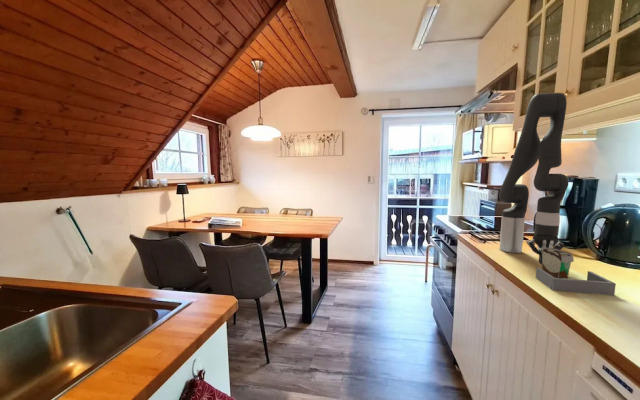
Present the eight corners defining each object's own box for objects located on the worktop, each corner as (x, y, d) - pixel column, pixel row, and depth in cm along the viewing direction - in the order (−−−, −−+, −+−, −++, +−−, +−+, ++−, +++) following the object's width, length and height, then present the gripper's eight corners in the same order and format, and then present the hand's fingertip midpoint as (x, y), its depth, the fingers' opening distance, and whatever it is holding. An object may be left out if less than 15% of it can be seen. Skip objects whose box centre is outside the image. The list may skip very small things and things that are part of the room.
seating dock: (535, 278, 100) (536, 267, 100) (590, 282, 96) (591, 271, 96) (552, 290, 90) (553, 278, 90) (614, 295, 86) (615, 283, 86)
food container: (580, 285, 94) (583, 257, 93) (560, 284, 95) (563, 256, 94) (557, 272, 106) (559, 247, 105) (539, 271, 107) (541, 246, 106)
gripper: (560, 221, 110) (556, 262, 112) (523, 220, 113) (520, 260, 115) (572, 225, 103) (568, 269, 105) (533, 224, 106) (529, 266, 108)
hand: (543, 264), depth 110 cm, fingers closed
